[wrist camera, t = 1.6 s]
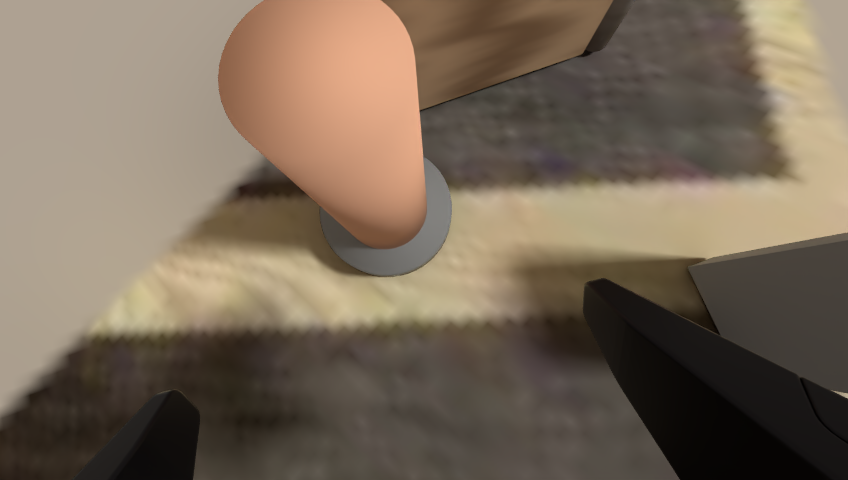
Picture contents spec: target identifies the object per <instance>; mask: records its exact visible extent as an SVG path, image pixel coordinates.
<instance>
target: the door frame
mask: <svg viewBox="0 0 848 480" xmlns="http://www.w3.org/2000/svg"><path fill="white" fill-rule="evenodd" d="M687 268H688V270H689V272H690V274H691V276H692V278H693V280H694V282H695V284H696V286H697V288H698V290H699V292H700V294H701V296H702V298H703V300H704V302H705V304H706V307H707V309H708V311H709V313H710V315H711V317H712V319H713V321H714V323H715V325H716V327H717V329H718V331H719V333H720V335H721V336H722V337H724V338H726V339H728V340H730V341H732V342H734V343H736V344H738V345H740V346H742V347H744V348H746V349H748V350H750V351H752V352H754V353H756V354H758V355H760V356H762V357H764V358H766V359H768V360H770V361H772V362H774V363H776V364H778V365H780V366H782V367H784V368H786V369H788V370H790V371H792V372H794V373H796V374H797V375H798V376H799V378H800V377H805V378H807V379H809V380H811V381H813V382H815V383H817V384H819V385H821V386H823V387H825V388H827V389H829V390H833V391H838V392H843V393H848V233H843V234H837V235H832V236H827V237H821V238H816V239H810V240H805V241H800V242H794V243H789V244H783V245H778V246H773V247H767V248H762V249H756V250H751V251H746V252H740V253H735V254H729V255H724V256H719V257H713V258H710V259H708V260H705V261H702V262H699V263H697V264H694V265H691V266H689V267H687Z"/></svg>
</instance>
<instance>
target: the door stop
mask: <svg viewBox="0 0 848 480" xmlns="http://www.w3.org/2000/svg"><path fill="white" fill-rule="evenodd" d="M218 82H219V92H220V97H221V102H222V104H223V107H224V110H225V112H226V114H227V116H228V118H229V120H230V121H231V123H232V124H233V126H234V127H235V128H236V130H237V131H238V132H239V133H240V134H241V135H242V136H243V137H244V138H245V139H246V140H247V141H248V142H249V143H250V144H251V145H252V146H254V147H255V148H256V149H257V150H258V151H259V152H260V153H261V154H263V155H264V156H265V157H266V158H267V159H268V160H269V161H270V162H271V163H273V164H274V165H275V166H276V167H277V168H278V169H279V170H280V171H282V172H283V173H284V174H285V175H286V176H287V177H288V178H289V179H291V180H292V181H293V182H294V183H295V184H296V185H297V186H298V187H299V188H301V189H302V190H303V191H304V192H305V193H306V194H307V195H308V196H310V197H311V198H312V199H313V200H314V201H315V202H316V203H317V204H318V205H320V221H321V226H322V230H323V233H324V235H325V238H326V240H327V242H328V243H329V245H330V247H331V248H332V249H333V251H334V252H335V253H336V254H337V255H338V256H339V257H340V258H341V259H342V260H344V261H345V262H346V263H348V264H349V265H351V266H353V267H355V268H356V269H358V270H360V271H363V272H365V273H368V274H371V275H375V276H382V277H394V276H401V275H404V274H408V273H411V272H413V271H415V270H417V269H419V268H421V267H422V266H424V265H425V264H427V263H428V262H429V261H430V260H431V259H432V258H433V257H434V256H435V255H436V254H437V253H438V251H439V250H440V249H441V247H442V245H443V243H444V242H445V239H446V237H447V234H448V231H449V227H450V222H451V214H452V202H451V196H450V192H449V189H448V186H447V184H446V182H445V179H444V178H443V176H442V175H441V173H440V171H439V170H438V169H437V168H436V167H435V166H434V165H433V164H432V163H431V162H430V161H429V160H428V159H426V158H425V157H423V150H422V137H421V125H420V113H419V100H418V88H417V76H416V63H415V55H414V49H413V45H412V42H411V39H410V36H409V34H408V32H407V30H406V28H405V26H404V25H403V23H402V22H401V20H400V19H399V17H398V16H397V15H396V14H395V13H394V12H393V10H392V9H391V8H390V7H388V6H387V5H386V4H385V3H384V2H382V1H381V0H264V1H263V2H261V3H259V4H258V5H256V6H255V7H254V8H253V9H252V10H251V11H250V12H248V13H247V14H246V15H245V17H244V18H243V19H242V20H241V21H240V22H239V23H238V25H237V26H236V27H235V29H234V30H233V32H232V33H231V35H230V37H229V39H228V41H227V43H226V45H225V48H224V50H223V53H222V56H221V60H220V65H219V75H218Z"/></svg>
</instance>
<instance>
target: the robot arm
mask: <svg viewBox="0 0 848 480" xmlns="http://www.w3.org/2000/svg"><path fill="white" fill-rule="evenodd" d="M583 313H584V316H585V319H586V321H587V323H588V325H589V327H590V329H591V331H592V333H593V335H594V337H595V339H596V341H597V343H598V345H599V347H600V349H601V351H602V353H603V355H604V357H605V359H606V361H607V363H608V365H609V367H610V369H611V371H612V373H613V375H614V377H615V378H616V380H617V382H618V384H619V385H620V387H621V389H622V390H623V392H624V393H625V395H626V397H627V398H628V400H629V401H630V403H631V404H632V406H633V407H634V409H635V411H636V412H637V414H638V415H639V417H640V418H641V420H642V421H643V423H644V424H645V426H646V428H647V429H648V431H649V432H650V434H651V435H652V437H653V438H654V440H655V442H656V443H657V445H658V446H659V448H660V449H661V451H662V452H663V454H664V456H665V457H666V459H667V460H668V462H669V463H670V465H671V466H672V468H673V469H674V471H675V473H676V474H677V476H678V477H679V479H680V480H848V399H847V398H845V397H843V396H841V395H839V394H837V393H835V392H833V391H831V390H829V389H827V388H825V387H823V386H821V385H819V384H817V383H815V382H813V381H811V380H809V379H807V378H805V377H800V378H799V376H798V375H797V374H796V373H794V372H792V371H790V370H788V369H786V368H784V367H782V366H780V365H778V364H776V363H774V362H772V361H770V360H768V359H766V358H764V357H762V356H760V355H758V354H756V353H754V352H752V351H750V350H748V349H746V348H744V347H742V346H740V345H738V344H736V343H734V342H732V341H730V340H728V339H726V338H724V337H722V336H720V335H718V334H716V333H714V332H712V331H710V330H708V329H706V328H704V327H702V326H700V325H698V324H696V323H694V322H692V321H690V320H688V319H686V318H684V317H682V316H680V315H678V314H676V313H674V312H672V311H670V310H668V309H666V308H664V307H662V306H660V305H658V304H656V303H654V302H652V301H650V300H648V299H646V298H644V297H642V296H640V295H638V294H636V293H634V292H632V291H630V290H628V289H626V288H624V287H622V286H620V285H618V284H616V283H614V282H612V281H610V280H608V279H605V278H601V279H597V280H593V281H589V282H587V283H586V284H585V285H584V296H583ZM199 424H200V414H199V411H198V409H197V408H196V406H195V405H194V404H193V403H192V402H191V401H190V400H189V399H188V398H187V397H186V396H185V395H184V394H183V393H182V392H181V391H180V390H177V389H172V390H168V391H164V392H160V393H157V394H155V395H154V396H153V397H152V398H151V399H150V400H149V401H148V402H147V403H146V404H145V405H144V406H143V407H142V408H141V409H140V410H139V411H138V412H137V413H136V414H135V415H134V416H133V417H132V418H131V419H130V420H129V421H128V422H127V423H126V424H125V425H124V427H123V428H122V429H121V430H120V431H119V432H118V433H117V434H116V435H115V436H114V437H113V438H112V439H111V440H110V441H109V442H108V443H107V444H106V445H105V446H104V447H103V448H102V449H101V450H100V451H99V452H98V453H97V454H96V455H95V456H94V457H93V458H92V460H91V461H90V462H89V463H88V464H87V465H86V466H85V467H84V468H83V469H82V470H81V471H80V472H79V473H78V474H77V475H76V476H75V477H74V478H73V479H72V480H193V475H194V467H195V458H196V450H197V441H198V433H199Z"/></svg>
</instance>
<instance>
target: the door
mask: <svg viewBox="0 0 848 480" xmlns="http://www.w3.org/2000/svg"><path fill="white" fill-rule="evenodd" d="M381 1H382V2H384V3H385V4H386V5H387V6H388V7H390V8H391V9H392V10H393V12H394V13H395V14H396V15H397V16H398V17H399V19H400V20H401V22H402V23H403V25H404V26H405V28H406V30H407V32H408V34H409V36H410V39H411V42H412V45H413V49H414V55H415V63H416V76H417V88H418V100H419V110H422V109H425V108H428V107H431V106H434V105H437V104H440V103H442V102H445V101H448V100H451V99H454V98H457V97H460V96H463V95H466V94H468V93H471V92H474V91H477V90H480V89H483V88H486V87H489V86H492V85H494V84H497V83H500V82H503V81H506V80H509V79H512V78H515V77H518V76H520V75H523V74H526V73H529V72H532V71H535V70H538V69H541V68H544V67H546V66H549V65H552V64H555V63H558V62H561V61H564V60H567V59H570V58H572V57H575V56H578V55H581V54H583V52H584V50H587V51H591V52H596V51H600V50H602V49H603V48H604V47H605V46H606V45H607V43H608V42H609V40H610V39H611V37H612V35H613V34H614V32H615V31H616V29H617V28H618V26H619V25H620V23H621V22H622V20H623V18H624V17H625V15H626V14H627V12H628V11H629V9H630V8H631V6H632V5H633V3H634V1H635V0H381Z"/></svg>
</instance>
